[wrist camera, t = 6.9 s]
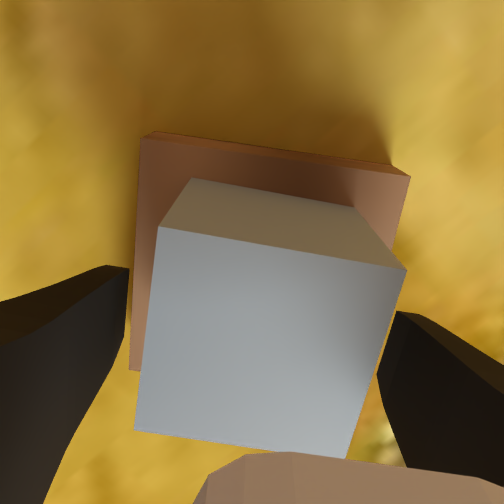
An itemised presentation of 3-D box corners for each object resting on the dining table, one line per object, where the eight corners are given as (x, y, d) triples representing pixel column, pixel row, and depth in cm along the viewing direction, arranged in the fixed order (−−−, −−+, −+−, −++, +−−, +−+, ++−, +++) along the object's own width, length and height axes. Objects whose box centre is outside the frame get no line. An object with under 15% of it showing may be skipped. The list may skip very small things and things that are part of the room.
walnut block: (145, 332, 18) (128, 369, 16) (158, 129, 15) (140, 138, 13) (340, 357, 18) (352, 396, 16) (387, 162, 16) (410, 176, 13)
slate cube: (171, 323, 15) (133, 430, 10) (191, 177, 13) (158, 226, 9) (316, 347, 15) (344, 461, 11) (354, 207, 14) (406, 270, 9)
